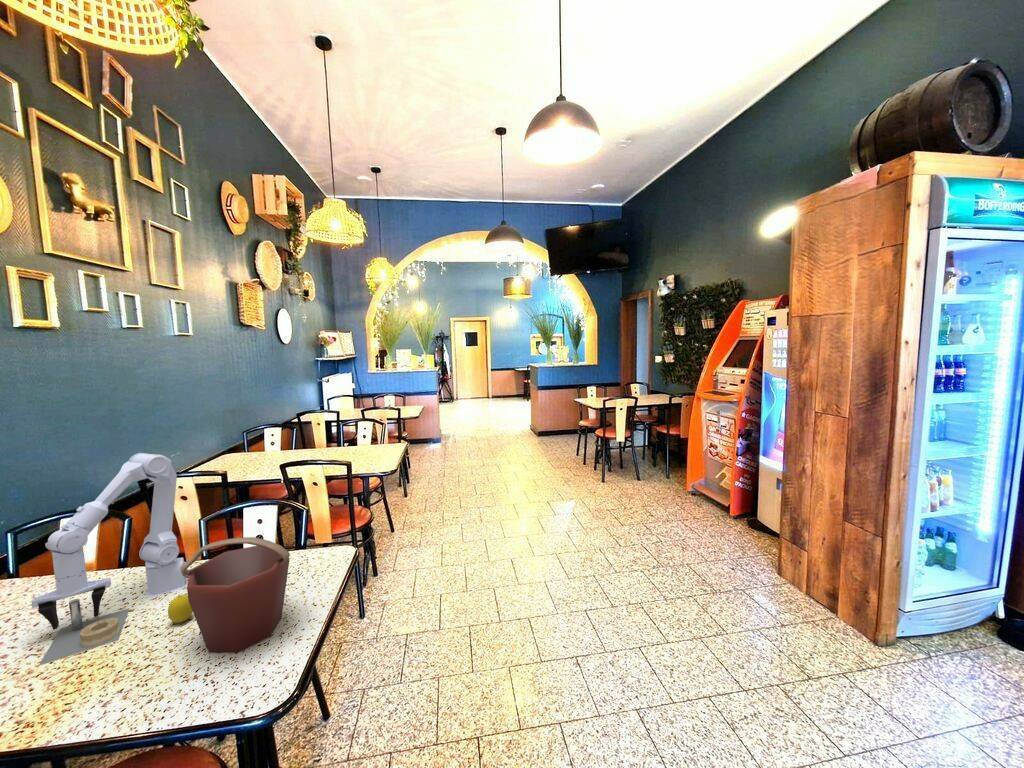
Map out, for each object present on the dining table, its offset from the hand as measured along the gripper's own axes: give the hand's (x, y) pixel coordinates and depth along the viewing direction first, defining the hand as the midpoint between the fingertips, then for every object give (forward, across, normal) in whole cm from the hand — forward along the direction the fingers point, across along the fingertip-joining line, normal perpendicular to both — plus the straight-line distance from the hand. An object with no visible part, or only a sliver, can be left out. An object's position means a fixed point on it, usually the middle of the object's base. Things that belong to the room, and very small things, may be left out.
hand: (76, 621), depth 112 cm
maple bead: (+2, -6, +9) cm, 11 cm away
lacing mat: (+3, -3, +5) cm, 6 cm away
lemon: (+3, -22, +15) cm, 27 cm away
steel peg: (+2, 0, 0) cm, 2 cm away
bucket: (+3, -36, +31) cm, 47 cm away
